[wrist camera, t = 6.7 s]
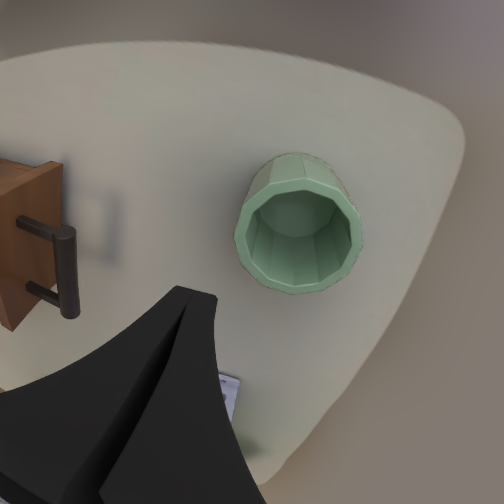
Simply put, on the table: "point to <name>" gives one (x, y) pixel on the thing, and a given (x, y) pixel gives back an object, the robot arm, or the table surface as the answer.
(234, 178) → the table surface
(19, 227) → the drawer
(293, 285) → the green cup
